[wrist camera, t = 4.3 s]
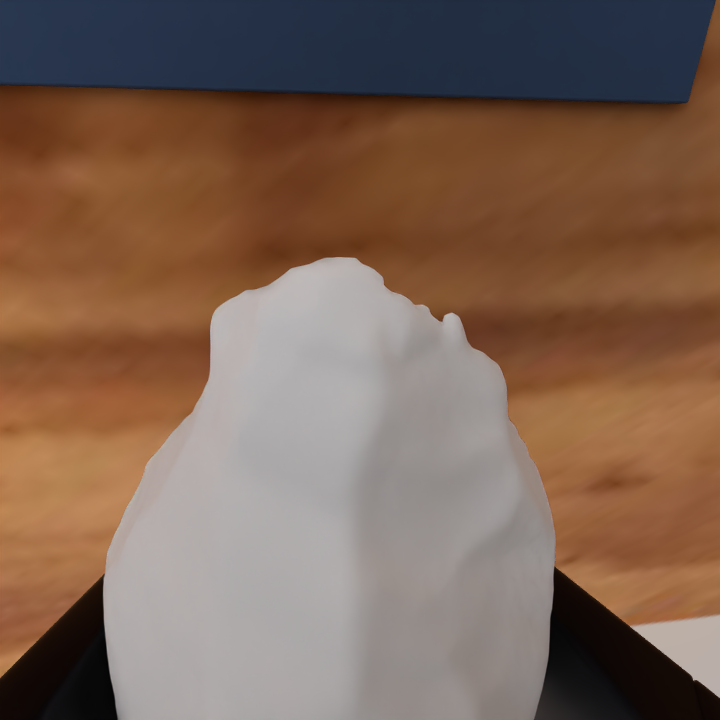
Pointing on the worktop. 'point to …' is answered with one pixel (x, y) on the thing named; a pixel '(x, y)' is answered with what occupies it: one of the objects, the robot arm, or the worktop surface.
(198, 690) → the white tapered cylinder
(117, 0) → the cloth
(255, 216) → the worktop surface
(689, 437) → the worktop surface
